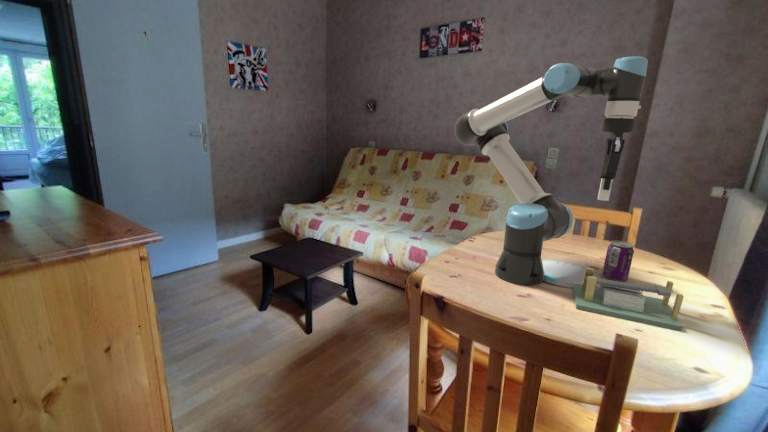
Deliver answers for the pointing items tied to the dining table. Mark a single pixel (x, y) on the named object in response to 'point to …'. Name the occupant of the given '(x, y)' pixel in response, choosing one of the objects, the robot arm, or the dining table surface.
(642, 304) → the block
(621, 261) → the beverage can
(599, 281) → the strap
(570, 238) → the dining table surface
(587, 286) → the posts
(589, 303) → the socket board
